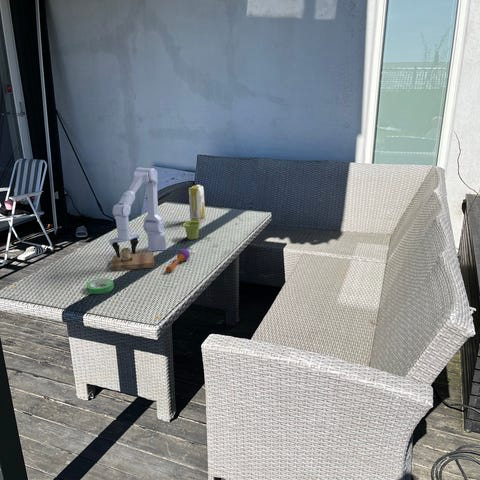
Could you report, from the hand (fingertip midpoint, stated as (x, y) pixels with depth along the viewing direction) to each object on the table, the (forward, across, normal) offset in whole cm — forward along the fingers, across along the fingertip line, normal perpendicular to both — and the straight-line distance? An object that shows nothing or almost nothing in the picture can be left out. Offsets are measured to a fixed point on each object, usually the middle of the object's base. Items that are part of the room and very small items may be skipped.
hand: (126, 255), depth 223 cm
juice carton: (+5, -64, -41) cm, 76 cm away
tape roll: (+5, +20, +19) cm, 28 cm away
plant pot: (+5, -46, -15) cm, 48 cm away
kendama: (+5, -20, +16) cm, 26 cm away
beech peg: (+5, 0, 0) cm, 5 cm away
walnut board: (+5, -3, +1) cm, 6 cm away
